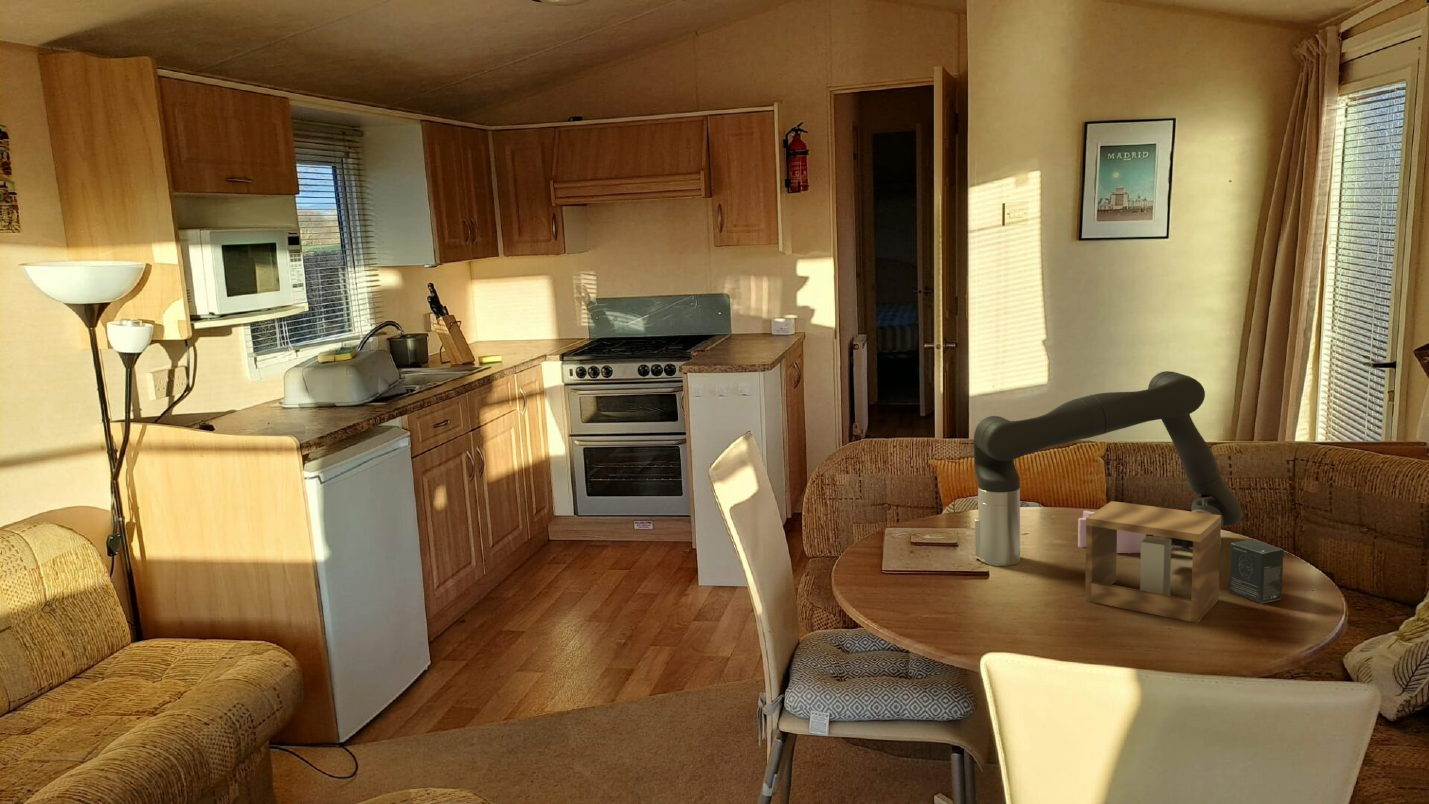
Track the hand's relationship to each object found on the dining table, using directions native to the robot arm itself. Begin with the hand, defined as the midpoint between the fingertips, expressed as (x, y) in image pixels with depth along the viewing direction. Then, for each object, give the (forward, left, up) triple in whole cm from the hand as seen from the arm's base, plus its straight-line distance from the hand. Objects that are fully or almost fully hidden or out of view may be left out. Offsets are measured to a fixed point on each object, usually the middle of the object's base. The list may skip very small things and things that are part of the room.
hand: (1173, 549), depth 214 cm
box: (+16, 0, -7) cm, 17 cm away
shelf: (0, -14, -7) cm, 15 cm away
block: (0, -11, -7) cm, 13 cm away
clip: (-16, +17, -7) cm, 25 cm away
